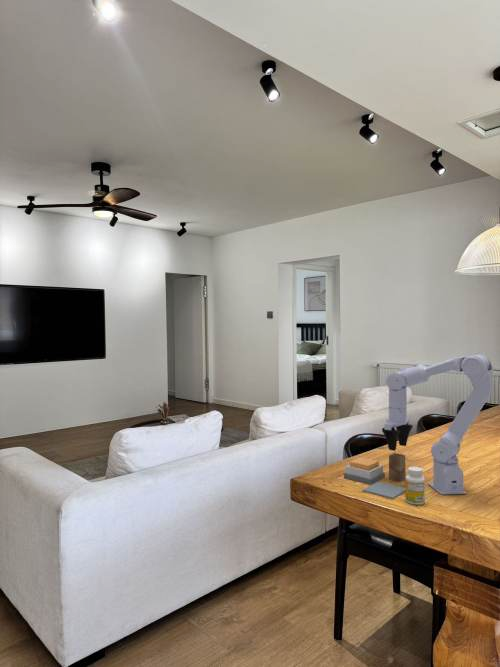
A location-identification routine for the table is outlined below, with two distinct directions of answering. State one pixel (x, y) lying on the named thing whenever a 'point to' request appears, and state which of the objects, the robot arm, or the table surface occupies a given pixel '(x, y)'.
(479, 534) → the table surface
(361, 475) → the switch panel
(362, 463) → the button
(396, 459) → the brown wooden beam
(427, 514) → the table surface
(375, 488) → the rubber mat
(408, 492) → the supplement bottle
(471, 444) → the table surface
